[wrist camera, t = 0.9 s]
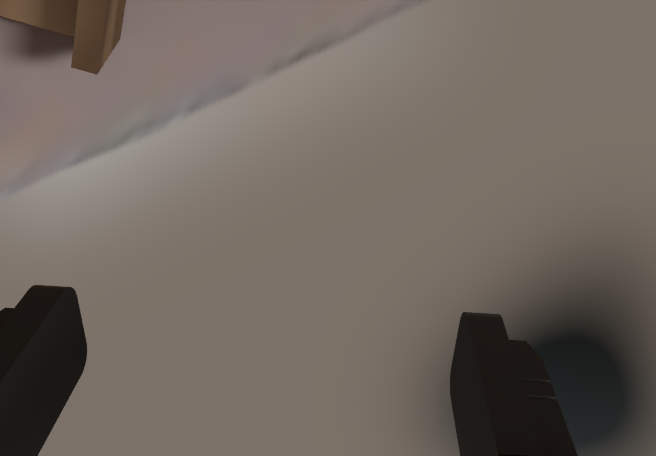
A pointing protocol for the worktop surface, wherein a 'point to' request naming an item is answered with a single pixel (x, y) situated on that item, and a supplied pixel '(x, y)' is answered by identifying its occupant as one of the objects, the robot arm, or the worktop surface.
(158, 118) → the worktop surface
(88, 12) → the book rack
